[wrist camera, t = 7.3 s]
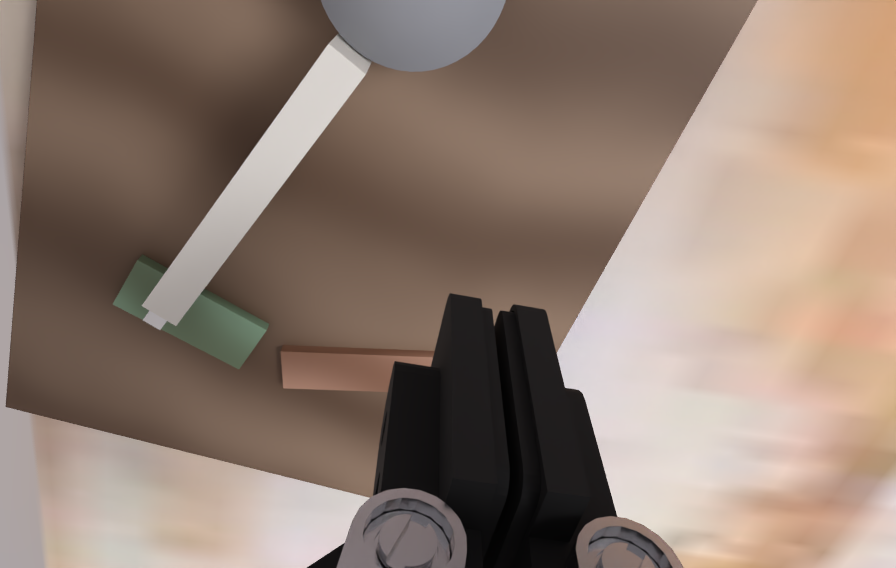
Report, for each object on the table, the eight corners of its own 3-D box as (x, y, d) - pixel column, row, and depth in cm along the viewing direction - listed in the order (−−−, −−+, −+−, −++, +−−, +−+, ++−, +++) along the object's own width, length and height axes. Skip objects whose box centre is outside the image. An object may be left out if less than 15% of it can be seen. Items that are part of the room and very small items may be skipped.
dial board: (120, -573, 13) (74, -650, 11) (828, -175, 16) (873, -188, 15) (28, 381, 24) (-1, 413, 22) (459, 492, 28) (461, 527, 26)
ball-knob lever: (400, -184, 15) (393, -219, 11) (534, -46, 16) (562, -43, 13) (101, 269, 20) (38, 333, 17) (222, 342, 21) (186, 413, 18)
